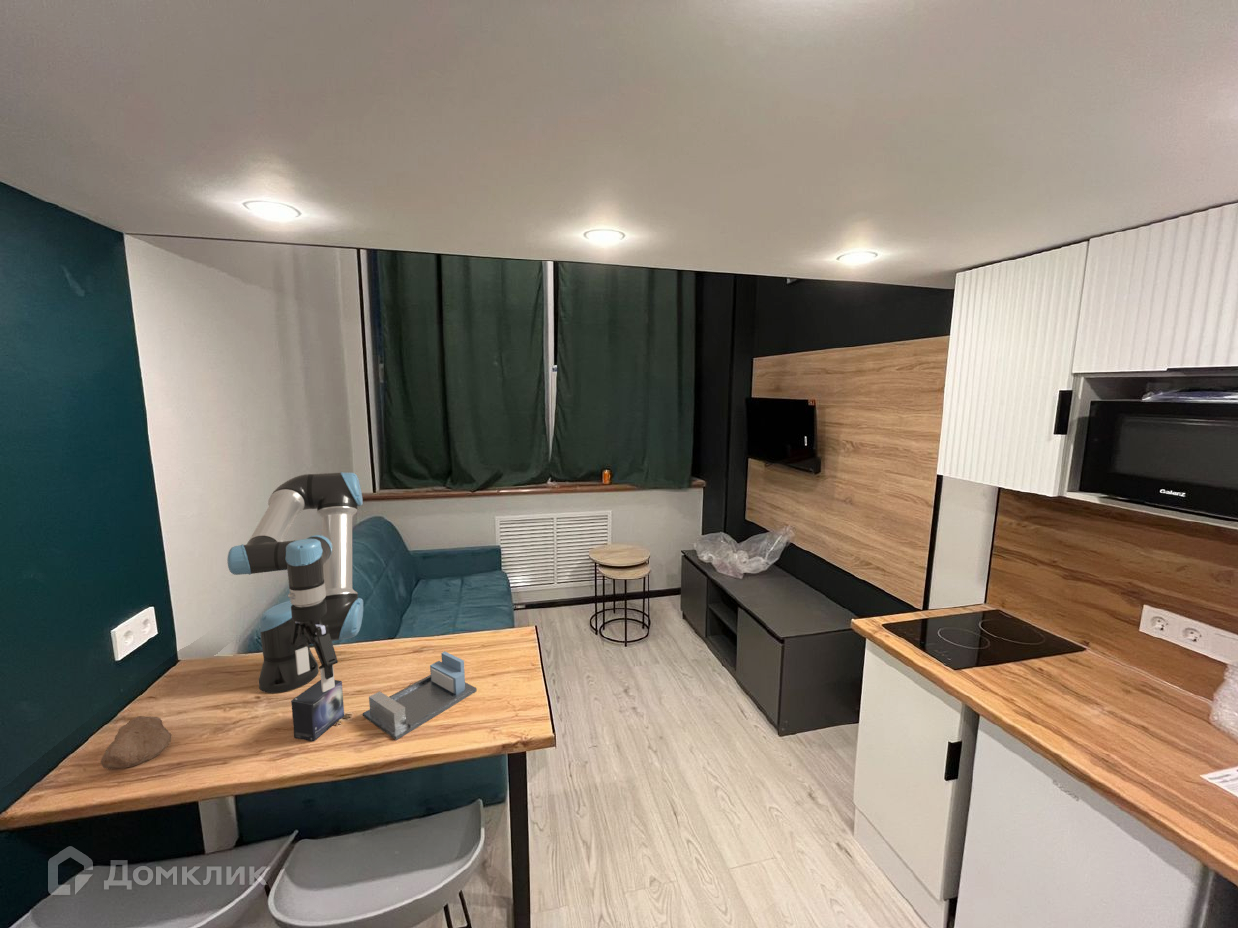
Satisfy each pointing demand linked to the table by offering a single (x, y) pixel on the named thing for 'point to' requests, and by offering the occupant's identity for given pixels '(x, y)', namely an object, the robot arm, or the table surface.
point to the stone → (136, 743)
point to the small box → (317, 711)
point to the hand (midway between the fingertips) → (315, 680)
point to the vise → (411, 706)
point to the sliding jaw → (449, 673)
